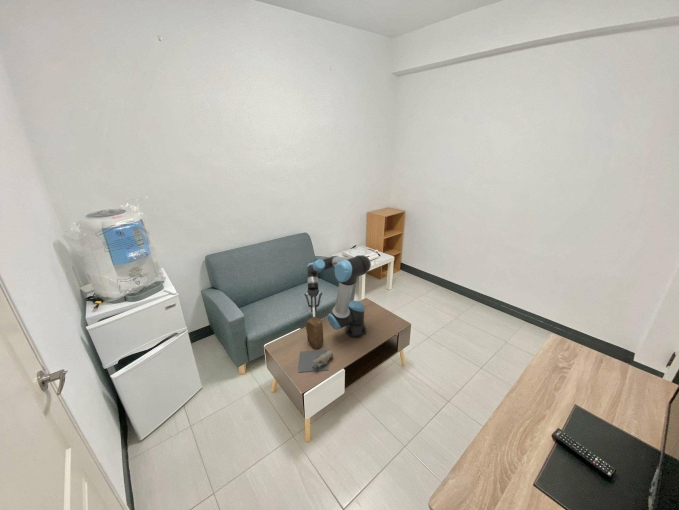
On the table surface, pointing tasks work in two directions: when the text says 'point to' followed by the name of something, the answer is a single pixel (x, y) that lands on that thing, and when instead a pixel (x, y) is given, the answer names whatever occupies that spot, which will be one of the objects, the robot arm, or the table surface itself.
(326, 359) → the decorative bird
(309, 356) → the mat
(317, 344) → the block
